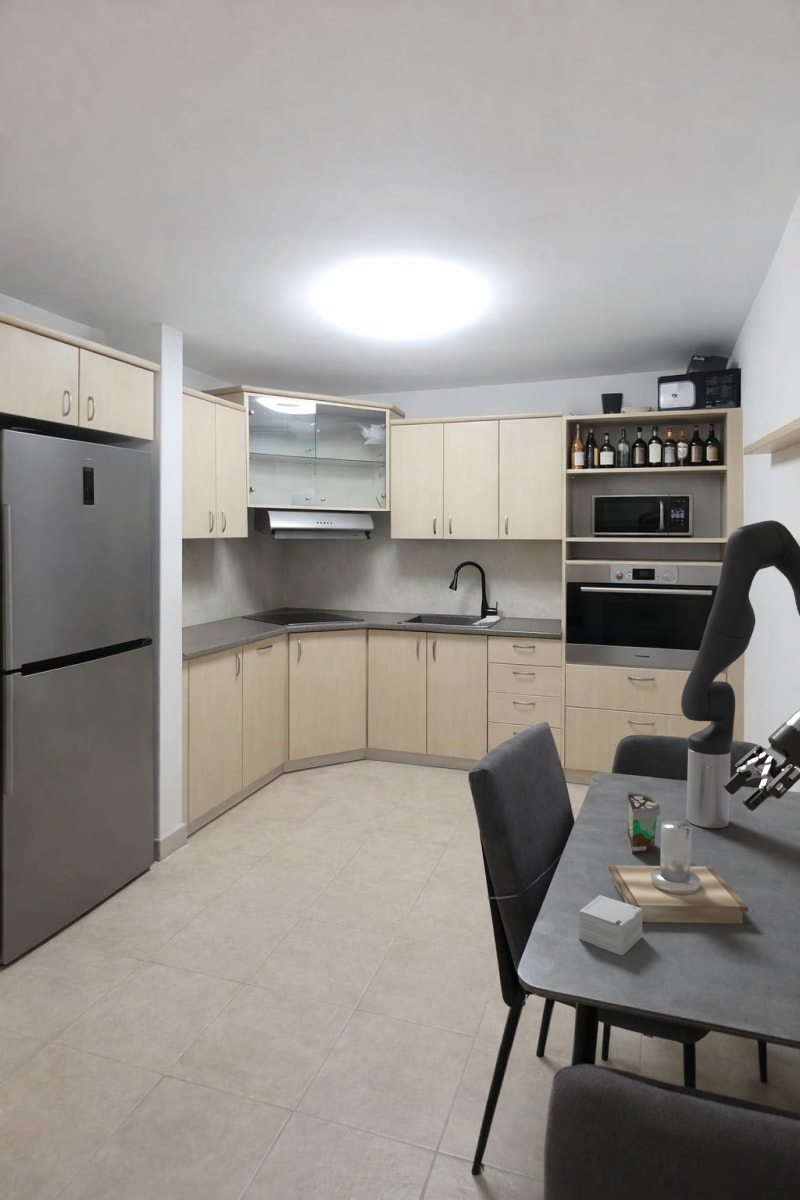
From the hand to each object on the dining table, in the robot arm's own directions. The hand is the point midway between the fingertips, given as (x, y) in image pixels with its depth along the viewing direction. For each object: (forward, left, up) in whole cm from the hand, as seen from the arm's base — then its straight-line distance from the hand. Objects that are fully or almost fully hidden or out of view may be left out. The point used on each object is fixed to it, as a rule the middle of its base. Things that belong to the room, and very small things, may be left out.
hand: (736, 798), depth 133 cm
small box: (+14, -26, -19) cm, 35 cm away
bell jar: (0, -11, -16) cm, 19 cm away
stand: (0, -11, -19) cm, 22 cm away
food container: (-25, -9, -19) cm, 33 cm away
